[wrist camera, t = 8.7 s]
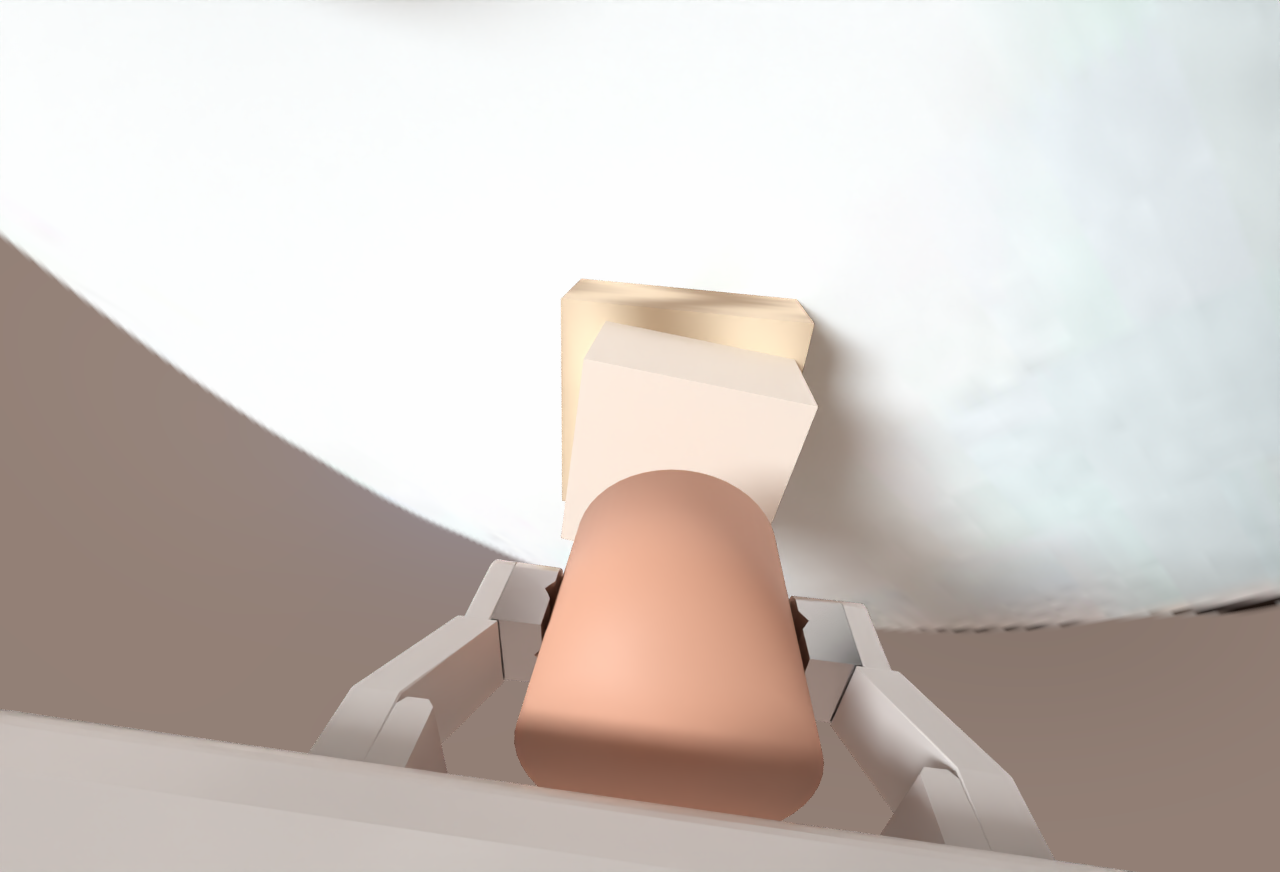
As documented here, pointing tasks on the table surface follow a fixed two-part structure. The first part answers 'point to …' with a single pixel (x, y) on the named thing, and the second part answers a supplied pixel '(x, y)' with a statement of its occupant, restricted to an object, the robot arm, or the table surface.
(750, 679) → the peach rounded dome
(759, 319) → the tower base
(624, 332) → the tower middle
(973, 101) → the table surface
